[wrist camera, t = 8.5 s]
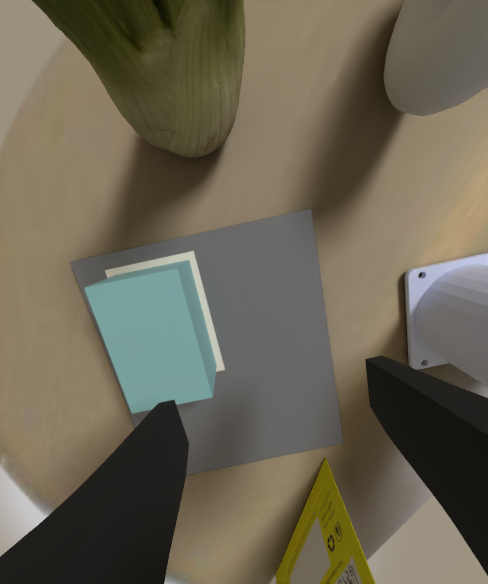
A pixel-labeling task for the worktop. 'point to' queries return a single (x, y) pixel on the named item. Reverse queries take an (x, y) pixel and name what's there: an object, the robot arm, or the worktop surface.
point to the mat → (249, 338)
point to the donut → (437, 55)
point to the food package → (324, 541)
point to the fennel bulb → (163, 64)
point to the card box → (155, 335)
